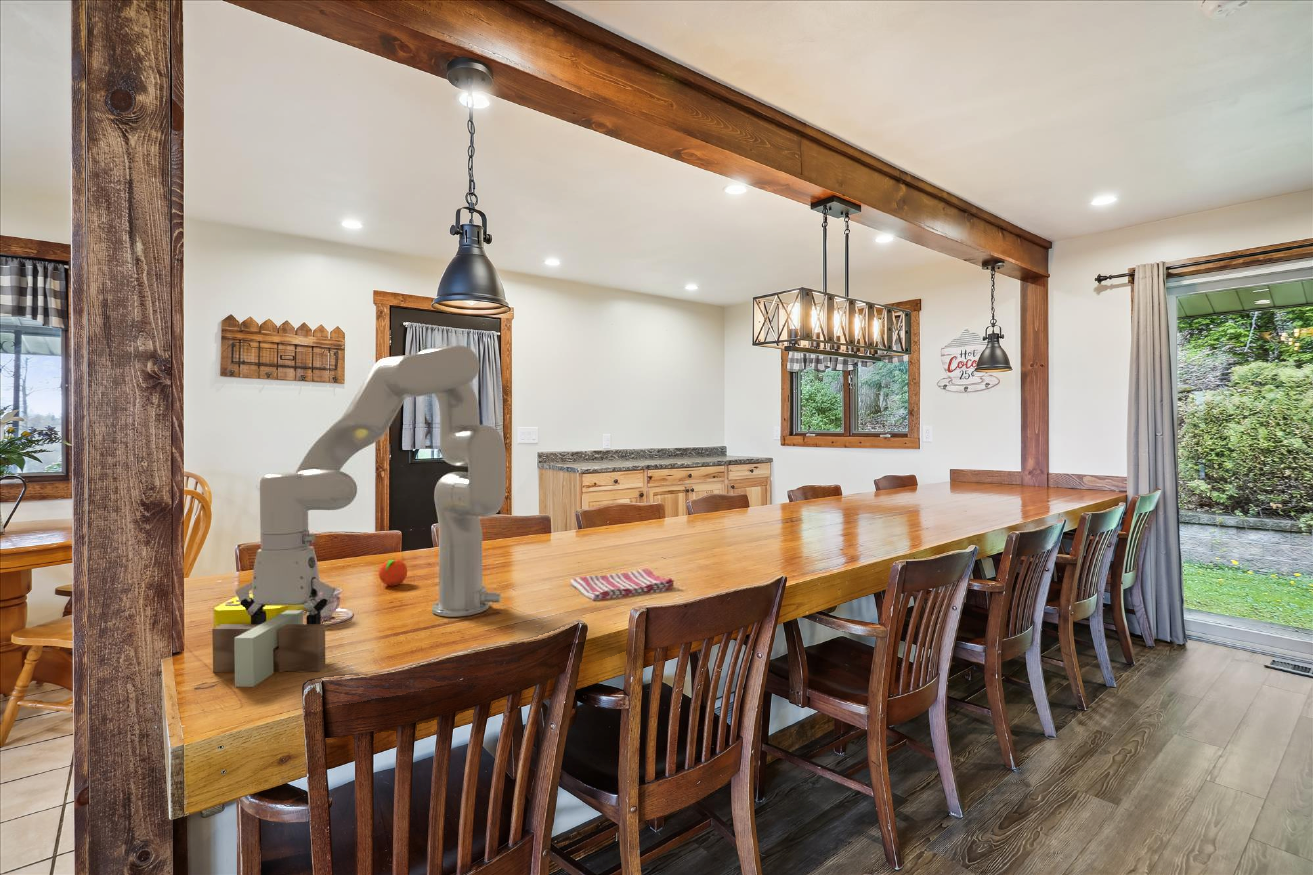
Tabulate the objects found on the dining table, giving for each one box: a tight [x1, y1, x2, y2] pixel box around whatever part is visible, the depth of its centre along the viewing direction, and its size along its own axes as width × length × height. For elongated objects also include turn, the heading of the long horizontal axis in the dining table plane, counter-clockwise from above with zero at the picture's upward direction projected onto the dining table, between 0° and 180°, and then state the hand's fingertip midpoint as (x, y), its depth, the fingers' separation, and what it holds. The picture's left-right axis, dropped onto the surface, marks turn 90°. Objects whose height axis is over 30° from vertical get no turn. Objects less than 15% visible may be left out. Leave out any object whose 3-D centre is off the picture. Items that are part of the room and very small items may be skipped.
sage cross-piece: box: [234, 610, 304, 688], centre depth 110 cm, size 3×15×8 cm, turn 1°
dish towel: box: [569, 568, 675, 602], centre depth 165 cm, size 17×23×4 cm
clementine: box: [378, 558, 408, 587], centre depth 166 cm, size 8×7×7 cm
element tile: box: [212, 590, 307, 628], centre depth 140 cm, size 15×15×5 cm
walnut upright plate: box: [211, 624, 326, 673], centre depth 110 cm, size 18×2×8 cm, turn 91°
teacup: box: [303, 586, 354, 627], centre depth 139 cm, size 12×12×6 cm
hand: (286, 634), depth 115 cm, fingers open, 9 cm apart
